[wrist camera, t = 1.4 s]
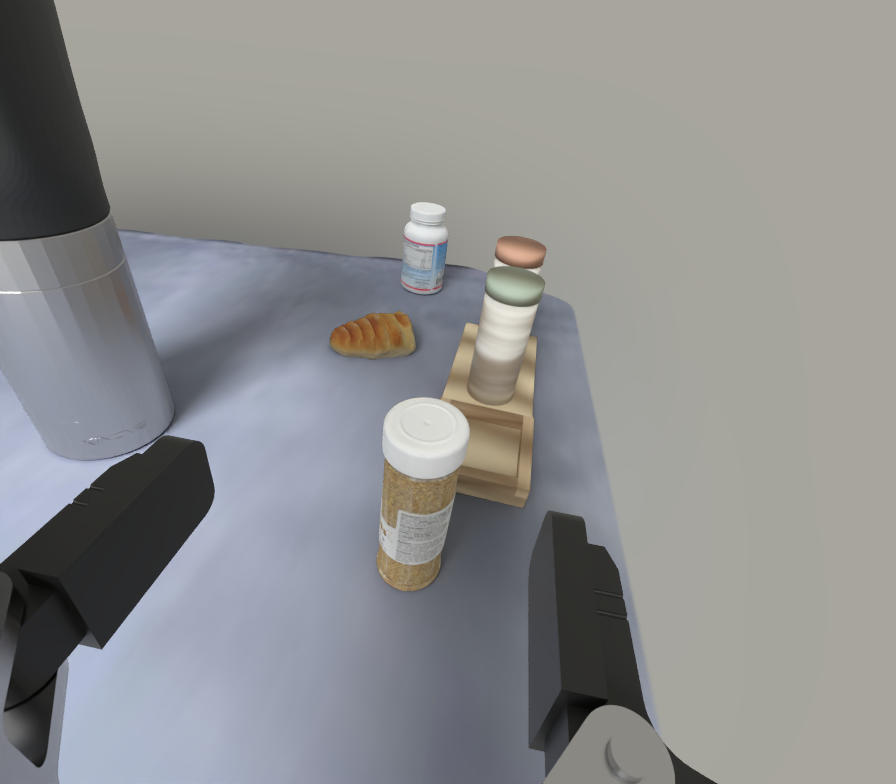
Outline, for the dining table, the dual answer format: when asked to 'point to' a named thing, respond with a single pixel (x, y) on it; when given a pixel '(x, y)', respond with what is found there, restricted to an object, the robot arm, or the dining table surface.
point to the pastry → (375, 336)
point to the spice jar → (418, 488)
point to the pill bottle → (424, 249)
